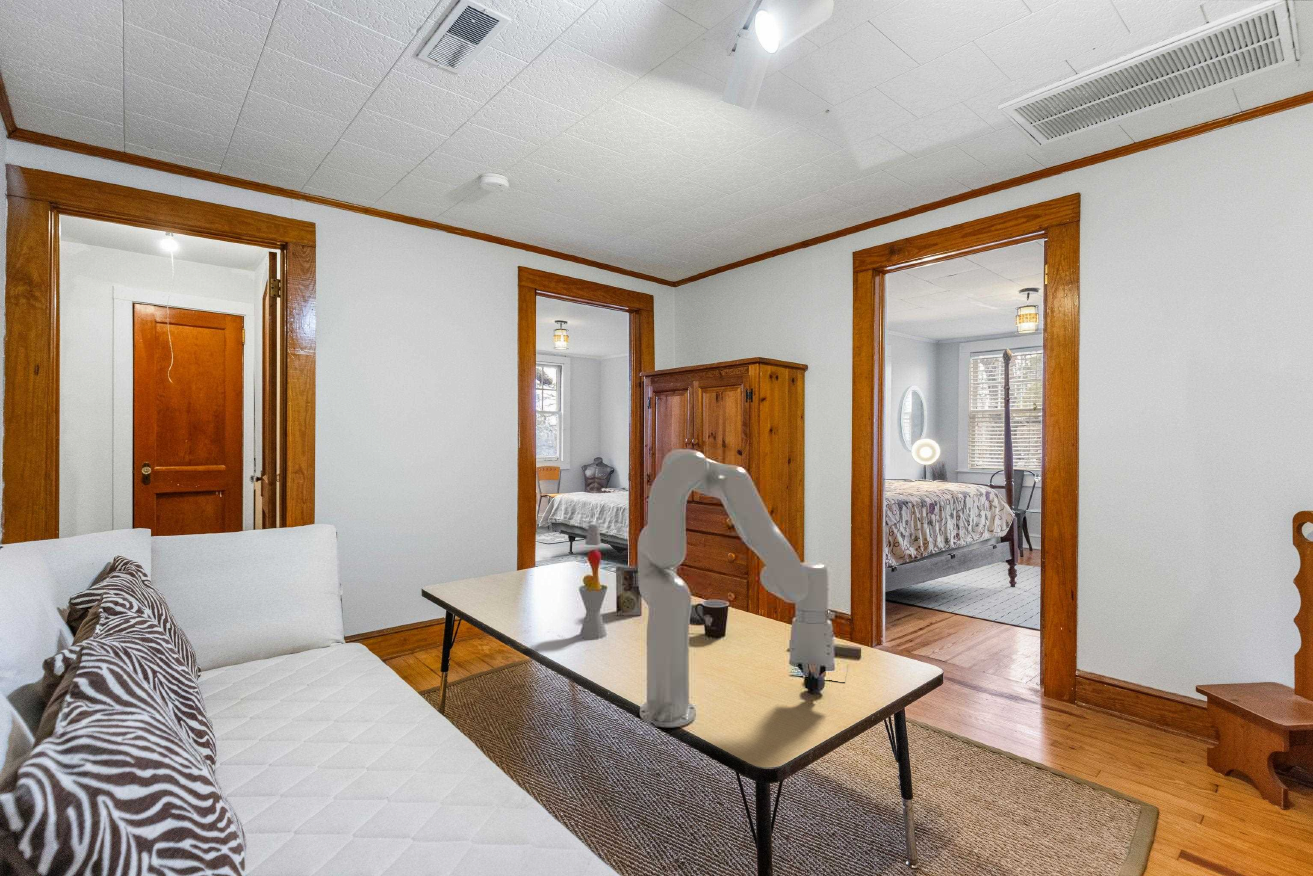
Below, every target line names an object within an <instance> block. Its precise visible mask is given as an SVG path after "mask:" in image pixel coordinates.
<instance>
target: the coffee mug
mask: <svg viewBox="0 0 1313 876" xmlns="http://www.w3.org/2000/svg"><path fill="white" fill-rule="evenodd" d="M695 605H696V606H695V611H696V613H697V615H698V616H699V618H700V619H701V620H702V621H703V622H704V624H703V627H704V636H705V635H706V636H705V637H707V636H708V637H707V638H710V637H712V638H711V639H721V638H720V637H722V638H724V637H726V634H727V633H726V631H727V622H728V617H729V616H728V613H729V607H730V606H729V605H730V602H728V601H725V600H722V599H721V600H720V599H707V600H703V601H701V603H697V604H695ZM698 605H701V606H702V612H703V618H702V617H701V616H700V615H699V613H698V611H697V606H698Z"/></svg>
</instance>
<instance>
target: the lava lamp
mask: <svg viewBox="0 0 1313 876" xmlns="http://www.w3.org/2000/svg"><path fill="white" fill-rule="evenodd" d="M601 544H602V542H601V534H600V529H599V524H597V523H589V524H588V526H587V531H586V539H585V545H587V546H600V545H601ZM586 559H587V561H588V563H589V565H590V568H591V573H592V574H586V575H585V576H584V577H582V582H583V585H581V586H579V587H578V591H579V594H580V596H581V600H582V603H583V606H584V609H585V611H586V612H585V615H584V619H583V622H582V626H581V629H580V632H579V637H580V638H581V639H584V638H586V639H585V640H600V639H603V637H604V638H605V637H606V635H608V633H607V630H606V626H605V623H604V620H603V617H602V614H601V609H602V606H603V604H604V603H603V602H604V600H605V596H606V594H607V590H608V586H607V585H605V584H601V582H600V577H599V567H600V563H601V560H602V554H601V552H600V551H599V550H595V549H593V550H590V551H589V552H588V554H587V557H586ZM599 638H600V639H599Z"/></svg>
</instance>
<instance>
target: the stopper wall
mask: <svg viewBox="0 0 1313 876" xmlns="http://www.w3.org/2000/svg"><path fill="white" fill-rule="evenodd" d="M834 649H835V654H837V655H836V656H839V655H844V656H843V657H848V656H855V657H854V658H856V657H861V658H862V647H861V646H856V645H846V644H838V643H834ZM789 650H790V640H789Z"/></svg>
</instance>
